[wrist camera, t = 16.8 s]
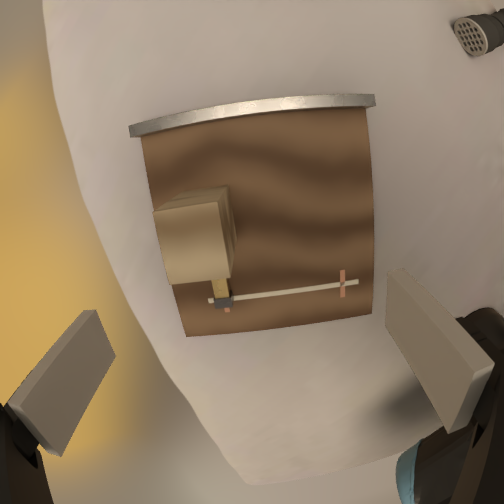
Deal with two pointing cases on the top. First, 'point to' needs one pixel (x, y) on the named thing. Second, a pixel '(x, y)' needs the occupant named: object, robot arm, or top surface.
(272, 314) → the board
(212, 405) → the top surface
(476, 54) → the flashlight
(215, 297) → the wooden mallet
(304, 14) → the top surface
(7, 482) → the robot arm
